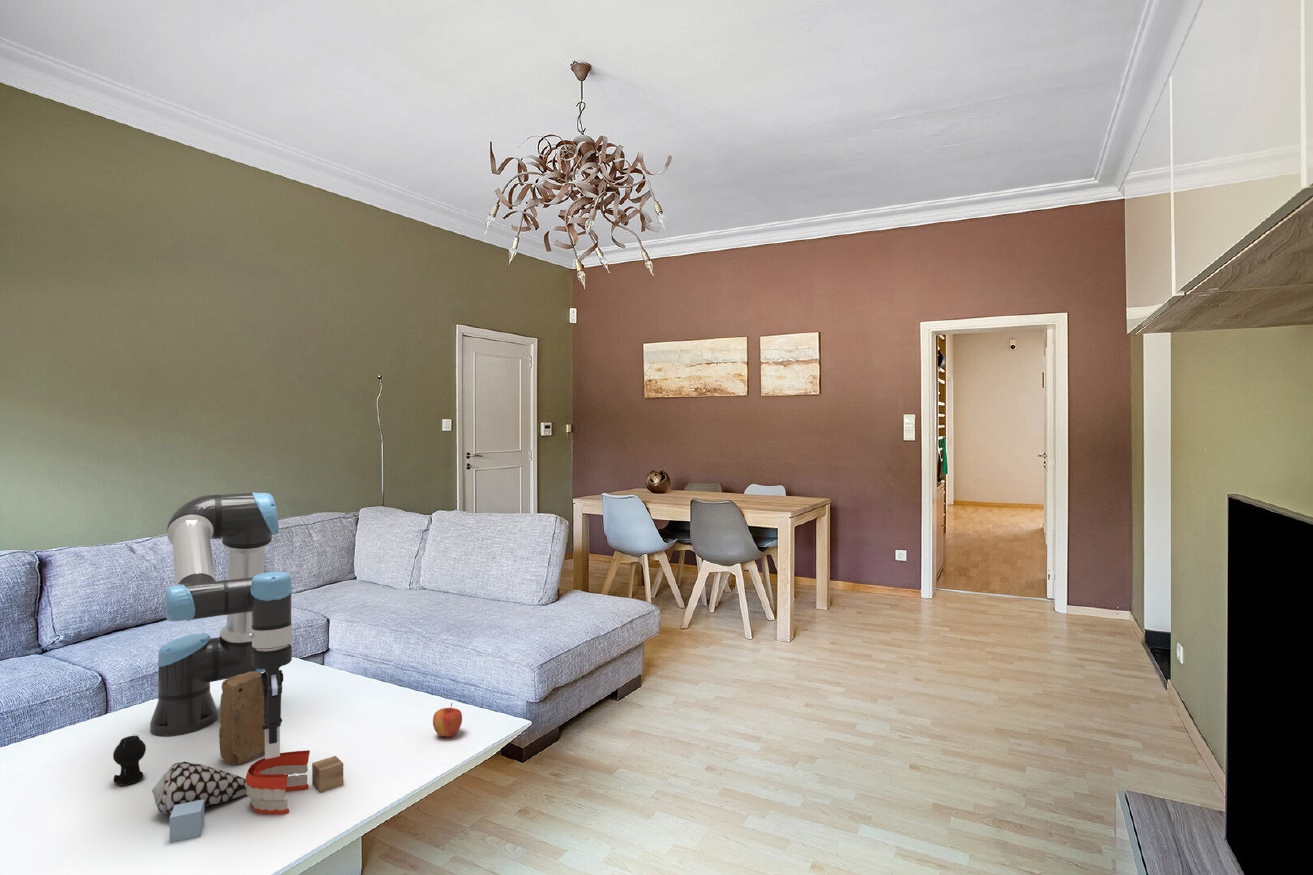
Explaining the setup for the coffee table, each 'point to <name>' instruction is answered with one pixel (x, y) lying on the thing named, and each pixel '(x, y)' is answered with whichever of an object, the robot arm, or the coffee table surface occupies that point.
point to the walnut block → (327, 774)
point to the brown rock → (242, 718)
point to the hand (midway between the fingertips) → (272, 756)
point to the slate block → (187, 821)
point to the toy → (276, 781)
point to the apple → (447, 721)
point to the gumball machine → (129, 760)
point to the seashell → (196, 786)
